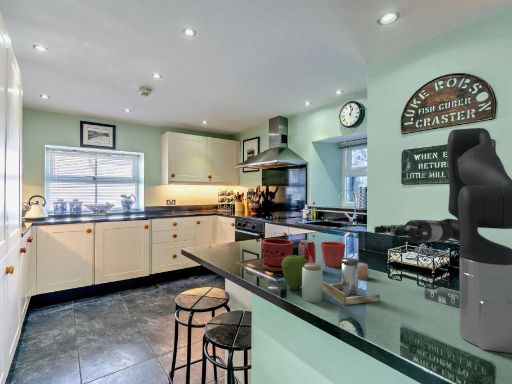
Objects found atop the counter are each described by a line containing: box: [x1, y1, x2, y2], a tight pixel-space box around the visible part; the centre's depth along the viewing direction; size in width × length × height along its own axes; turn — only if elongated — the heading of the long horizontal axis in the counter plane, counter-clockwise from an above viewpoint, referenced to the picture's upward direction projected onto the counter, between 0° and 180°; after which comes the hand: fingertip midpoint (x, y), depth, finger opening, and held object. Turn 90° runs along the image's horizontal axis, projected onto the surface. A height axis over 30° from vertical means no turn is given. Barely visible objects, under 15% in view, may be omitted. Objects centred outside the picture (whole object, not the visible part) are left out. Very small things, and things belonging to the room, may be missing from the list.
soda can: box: [297, 239, 317, 264], centre depth 114 cm, size 7×7×12 cm
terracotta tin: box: [358, 262, 369, 281], centre depth 104 cm, size 6×6×5 cm
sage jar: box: [301, 262, 324, 304], centre depth 81 cm, size 6×6×10 cm
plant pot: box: [261, 238, 294, 272], centre depth 114 cm, size 13×13×12 cm
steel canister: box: [341, 257, 359, 297], centre depth 85 cm, size 5×5×11 cm
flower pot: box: [320, 241, 346, 268], centre depth 122 cm, size 11×11×10 cm
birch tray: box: [322, 280, 381, 306], centre depth 84 cm, size 12×12×3 cm
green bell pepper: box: [282, 254, 307, 291], centre depth 90 cm, size 9×8×12 cm
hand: (384, 231), depth 89 cm, fingers open, 8 cm apart
